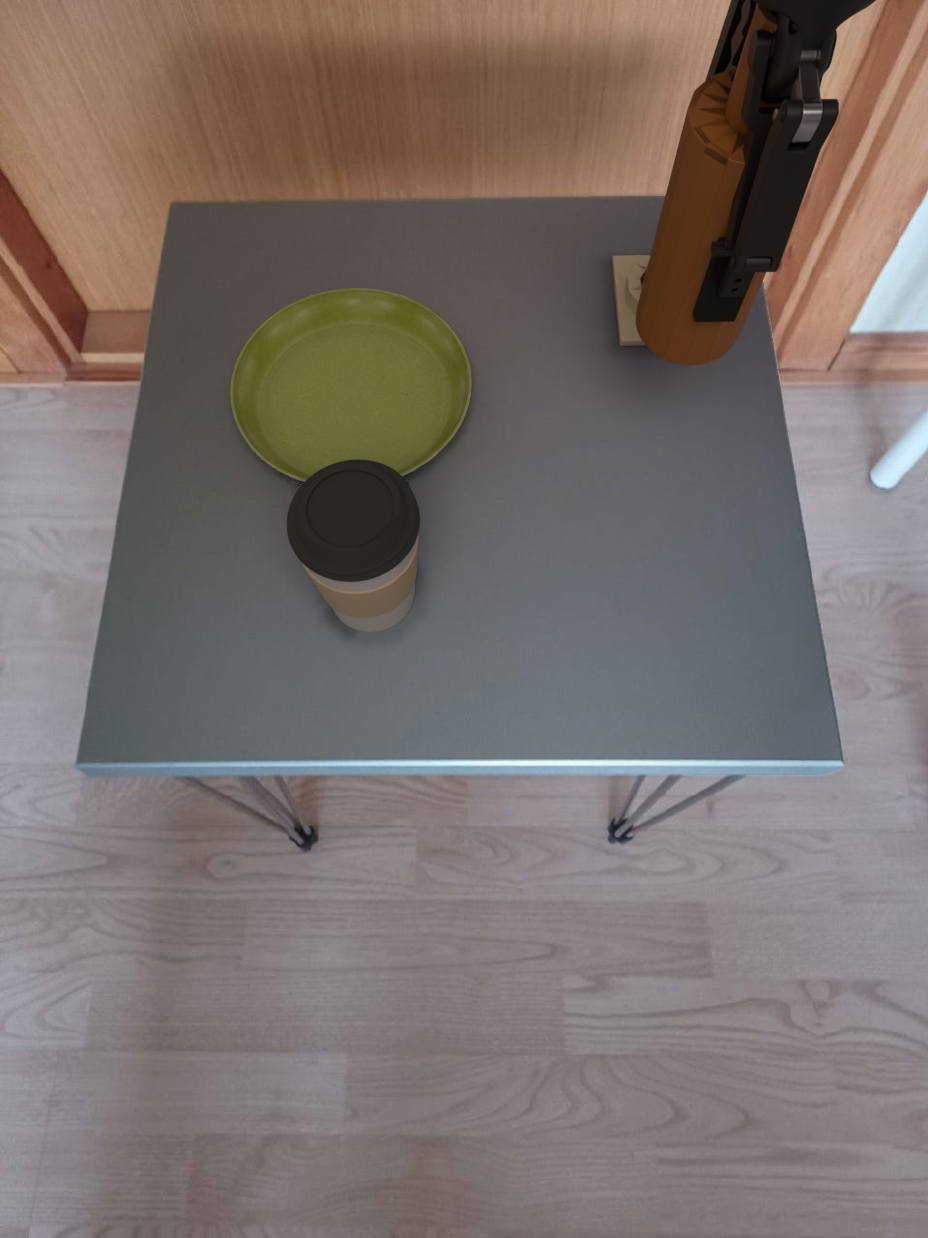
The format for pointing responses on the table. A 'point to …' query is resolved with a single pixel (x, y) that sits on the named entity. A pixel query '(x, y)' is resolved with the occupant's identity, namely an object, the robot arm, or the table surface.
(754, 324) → the table surface
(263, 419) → the green plate
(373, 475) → the coffee cup
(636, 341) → the cream button plate
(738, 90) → the brown bottle
